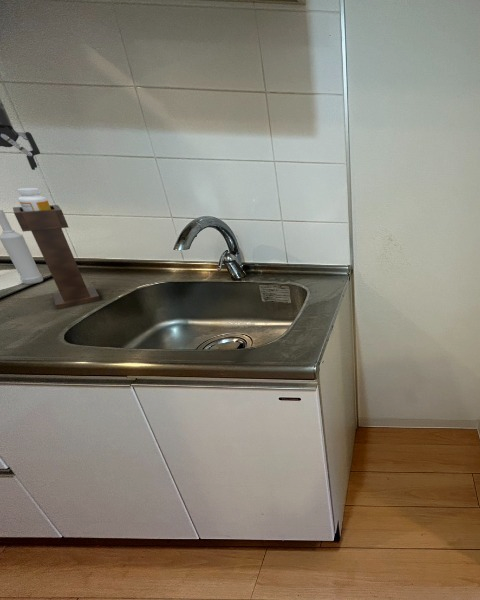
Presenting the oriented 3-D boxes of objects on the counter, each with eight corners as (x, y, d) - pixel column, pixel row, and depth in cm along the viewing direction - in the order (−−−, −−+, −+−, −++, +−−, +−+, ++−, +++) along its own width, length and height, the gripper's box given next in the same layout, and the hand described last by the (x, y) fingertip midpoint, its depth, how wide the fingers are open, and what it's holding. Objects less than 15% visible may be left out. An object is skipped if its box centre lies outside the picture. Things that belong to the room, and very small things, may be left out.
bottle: (42, 277, 113) (8, 208, 102) (45, 281, 110) (11, 210, 99) (21, 281, 109) (-17, 209, 98) (24, 285, 106) (-14, 212, 95)
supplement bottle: (56, 220, 93) (42, 187, 89) (57, 224, 90) (42, 189, 85) (30, 222, 90) (14, 187, 85) (29, 226, 86) (12, 190, 82)
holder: (57, 309, 94) (10, 213, 81) (54, 298, 100) (10, 207, 87) (100, 299, 101) (64, 210, 88) (95, 290, 107) (60, 204, 94)
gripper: (21, 109, 91) (45, 168, 99) (-59, 102, 82) (-26, 168, 89) (23, 109, 87) (48, 170, 94) (-63, 101, 77) (-27, 170, 84)
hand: (12, 169), depth 91 cm, fingers open, 8 cm apart
